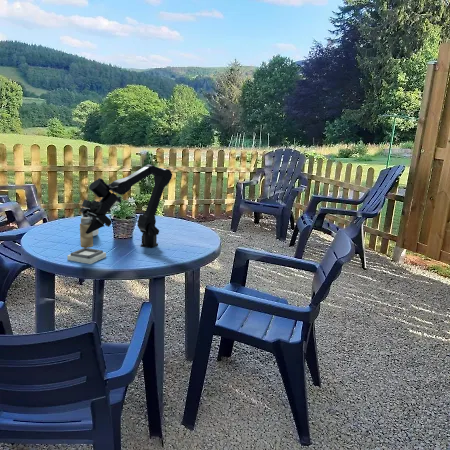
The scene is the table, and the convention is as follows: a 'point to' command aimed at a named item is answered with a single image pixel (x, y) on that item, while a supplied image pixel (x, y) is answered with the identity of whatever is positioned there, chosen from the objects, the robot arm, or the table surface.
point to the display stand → (86, 255)
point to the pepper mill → (84, 237)
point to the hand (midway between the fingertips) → (83, 232)
